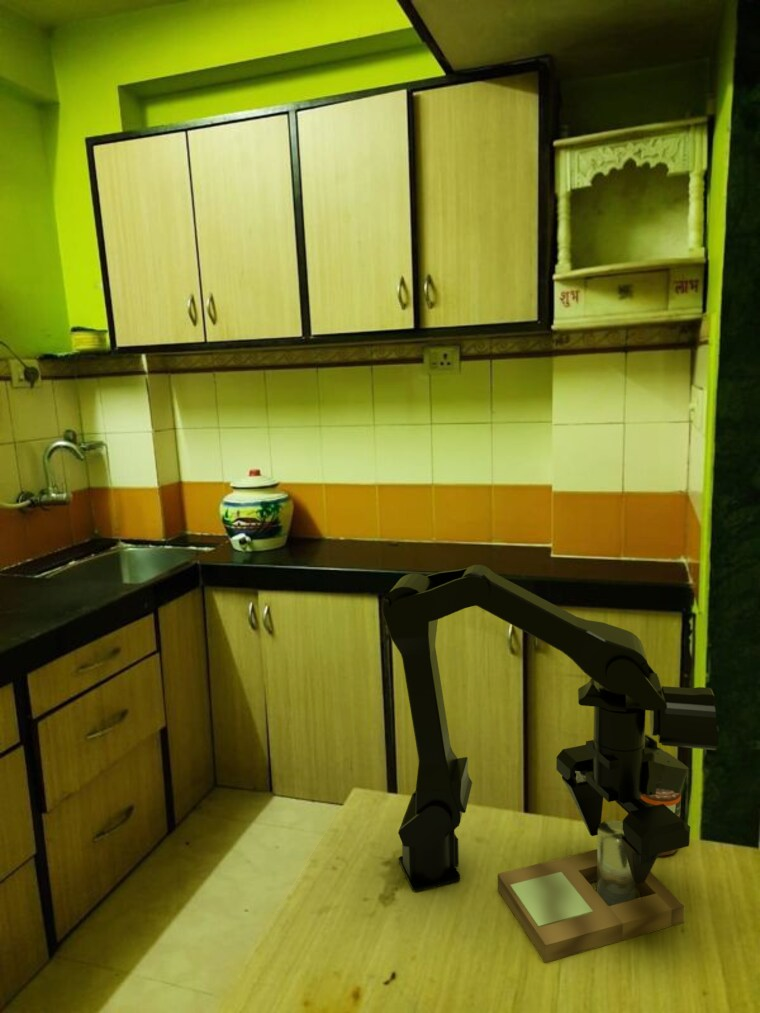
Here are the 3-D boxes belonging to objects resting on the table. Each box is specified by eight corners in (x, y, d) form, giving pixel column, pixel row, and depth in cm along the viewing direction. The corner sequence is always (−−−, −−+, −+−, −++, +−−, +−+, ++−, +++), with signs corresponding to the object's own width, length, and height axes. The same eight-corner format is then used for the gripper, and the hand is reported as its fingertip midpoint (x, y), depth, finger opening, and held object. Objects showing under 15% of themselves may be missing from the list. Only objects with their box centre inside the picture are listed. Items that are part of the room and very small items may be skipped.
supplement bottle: (683, 860, 93) (686, 781, 91) (635, 855, 94) (637, 778, 92) (674, 832, 99) (677, 757, 97) (629, 828, 100) (631, 754, 98)
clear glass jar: (610, 915, 84) (612, 847, 83) (589, 889, 88) (590, 824, 87) (643, 906, 85) (645, 839, 84) (620, 881, 90) (622, 817, 88)
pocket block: (545, 962, 78) (545, 943, 77) (497, 889, 89) (497, 872, 89) (683, 922, 83) (684, 904, 82) (621, 857, 94) (622, 841, 94)
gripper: (735, 766, 77) (727, 894, 79) (629, 695, 94) (626, 801, 97) (646, 786, 74) (642, 918, 76) (554, 708, 91) (553, 818, 94)
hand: (615, 857), depth 86 cm, fingers open, 9 cm apart
